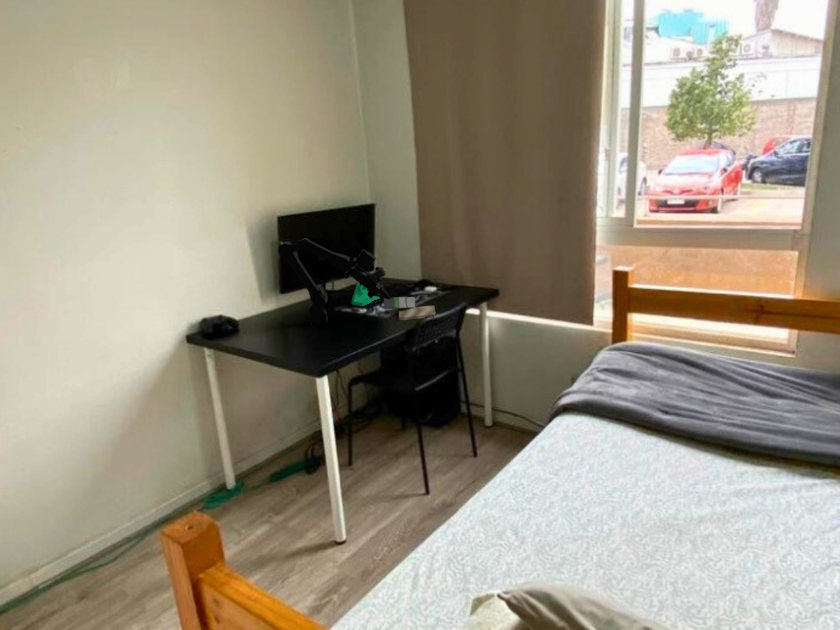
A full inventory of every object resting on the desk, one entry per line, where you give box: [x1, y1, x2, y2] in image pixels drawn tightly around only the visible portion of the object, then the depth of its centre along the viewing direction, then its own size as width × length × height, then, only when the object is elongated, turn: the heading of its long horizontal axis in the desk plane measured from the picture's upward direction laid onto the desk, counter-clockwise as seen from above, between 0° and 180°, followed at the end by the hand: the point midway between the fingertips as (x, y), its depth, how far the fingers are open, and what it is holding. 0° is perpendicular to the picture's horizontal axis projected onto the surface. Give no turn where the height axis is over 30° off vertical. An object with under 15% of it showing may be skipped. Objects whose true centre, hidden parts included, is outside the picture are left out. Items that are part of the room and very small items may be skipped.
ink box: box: [383, 296, 416, 310], centre depth 255 cm, size 9×5×12 cm
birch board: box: [398, 305, 436, 321], centre depth 250 cm, size 16×14×1 cm
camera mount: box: [350, 282, 380, 307], centre depth 274 cm, size 12×8×10 cm, turn 136°
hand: (389, 298), depth 248 cm, fingers closed
